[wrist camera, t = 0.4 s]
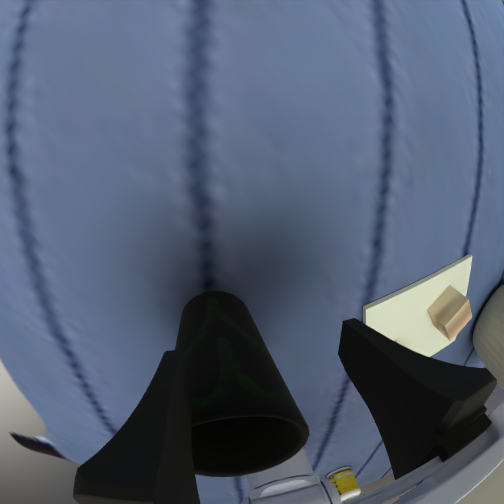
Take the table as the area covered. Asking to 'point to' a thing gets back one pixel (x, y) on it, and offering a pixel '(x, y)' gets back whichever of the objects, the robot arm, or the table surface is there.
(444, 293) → the beech brick
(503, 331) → the canister
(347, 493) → the supplement bottle
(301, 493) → the robot arm
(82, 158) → the table surface
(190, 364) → the cup
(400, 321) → the plate
